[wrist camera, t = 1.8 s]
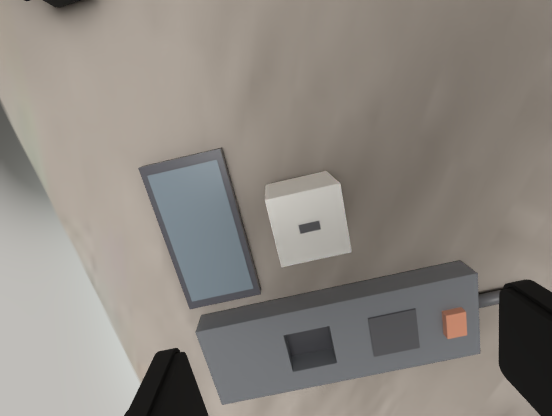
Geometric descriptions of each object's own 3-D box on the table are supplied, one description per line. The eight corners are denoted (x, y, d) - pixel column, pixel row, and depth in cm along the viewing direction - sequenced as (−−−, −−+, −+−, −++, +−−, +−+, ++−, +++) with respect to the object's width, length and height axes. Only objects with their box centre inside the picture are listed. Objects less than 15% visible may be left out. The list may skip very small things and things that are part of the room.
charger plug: (321, 166, 26) (340, 183, 19) (331, 219, 27) (352, 252, 20) (265, 179, 26) (264, 200, 19) (278, 231, 27) (281, 268, 21)
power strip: (533, 244, 28) (565, 259, 25) (530, 322, 31) (559, 344, 28) (201, 315, 30) (193, 337, 27) (225, 383, 32) (221, 411, 29)
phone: (221, 147, 25) (219, 148, 24) (260, 289, 29) (260, 294, 28) (142, 166, 25) (138, 168, 24) (192, 303, 29) (189, 309, 28)
